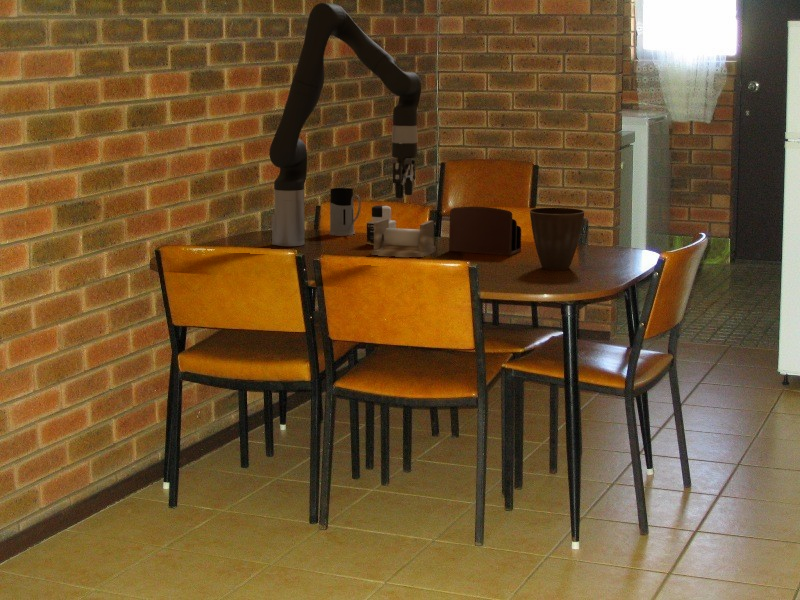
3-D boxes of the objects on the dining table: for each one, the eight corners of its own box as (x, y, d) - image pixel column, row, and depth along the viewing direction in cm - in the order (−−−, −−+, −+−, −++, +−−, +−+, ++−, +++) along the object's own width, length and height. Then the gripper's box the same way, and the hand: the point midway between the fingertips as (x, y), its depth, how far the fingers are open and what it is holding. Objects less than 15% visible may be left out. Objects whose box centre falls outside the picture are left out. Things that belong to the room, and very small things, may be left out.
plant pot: (581, 273, 326) (583, 214, 323) (526, 271, 328) (527, 213, 326) (583, 264, 340) (585, 208, 337) (530, 263, 343) (531, 207, 340)
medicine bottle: (366, 244, 378) (366, 206, 376) (375, 241, 384) (375, 204, 382) (387, 246, 375) (387, 207, 373) (396, 243, 382) (396, 205, 379)
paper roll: (383, 247, 359) (383, 229, 358) (390, 244, 364) (389, 226, 363) (418, 249, 355) (418, 231, 354) (424, 246, 360) (424, 228, 359)
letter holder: (510, 256, 357) (511, 208, 354) (448, 252, 365) (448, 205, 362) (521, 251, 366) (522, 205, 363) (460, 247, 374) (460, 202, 371)
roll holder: (371, 255, 356) (371, 223, 354) (386, 248, 369) (387, 217, 367) (421, 258, 351) (421, 225, 349) (435, 251, 364) (435, 220, 362)
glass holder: (344, 231, 408) (344, 187, 405) (370, 236, 397) (370, 190, 394) (323, 233, 402) (323, 188, 400) (349, 238, 392) (349, 192, 389)
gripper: (400, 139, 361) (399, 193, 364) (384, 142, 348) (384, 198, 351) (424, 140, 359) (423, 194, 362) (409, 142, 346) (408, 199, 349)
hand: (403, 196), depth 357 cm, fingers open, 8 cm apart
